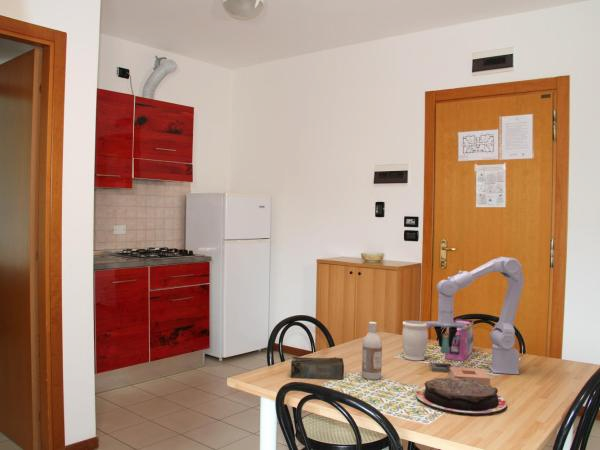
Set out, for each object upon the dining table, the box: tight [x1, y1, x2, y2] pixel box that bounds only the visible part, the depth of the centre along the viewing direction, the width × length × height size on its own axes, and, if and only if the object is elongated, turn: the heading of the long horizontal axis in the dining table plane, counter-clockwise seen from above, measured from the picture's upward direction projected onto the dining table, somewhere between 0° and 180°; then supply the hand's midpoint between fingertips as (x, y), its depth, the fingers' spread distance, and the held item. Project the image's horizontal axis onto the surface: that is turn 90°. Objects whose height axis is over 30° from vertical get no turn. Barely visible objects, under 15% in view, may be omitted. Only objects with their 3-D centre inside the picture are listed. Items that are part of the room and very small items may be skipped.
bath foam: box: [361, 321, 383, 381], centre depth 189 cm, size 7×7×20 cm
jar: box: [401, 320, 429, 362], centre depth 217 cm, size 11×10×15 cm
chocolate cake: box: [415, 376, 508, 417], centre depth 167 cm, size 28×28×7 cm
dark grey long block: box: [290, 356, 345, 380], centre depth 190 cm, size 8×19×7 cm, turn 87°
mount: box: [429, 362, 453, 373], centre depth 202 cm, size 8×8×1 cm
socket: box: [448, 366, 491, 386], centre depth 188 cm, size 12×12×3 cm
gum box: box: [444, 318, 475, 362], centre depth 226 cm, size 24×8×14 cm, turn 152°
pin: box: [440, 333, 449, 354], centre depth 201 cm, size 3×3×7 cm
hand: (445, 346), depth 201 cm, fingers closed on pin, 3 cm apart
